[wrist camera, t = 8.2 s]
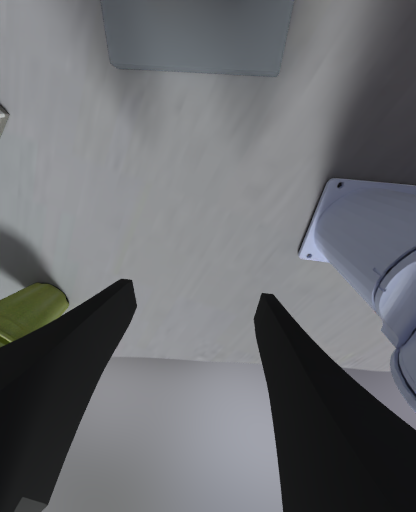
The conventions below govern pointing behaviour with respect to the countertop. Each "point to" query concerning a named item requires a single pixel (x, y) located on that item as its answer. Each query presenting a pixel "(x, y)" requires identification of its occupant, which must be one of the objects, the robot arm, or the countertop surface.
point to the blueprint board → (198, 35)
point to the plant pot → (29, 311)
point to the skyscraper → (3, 119)
